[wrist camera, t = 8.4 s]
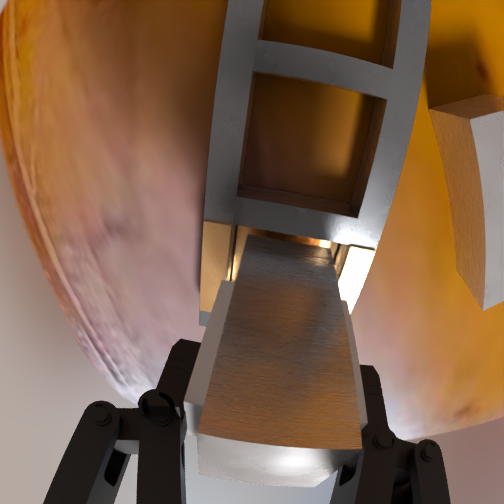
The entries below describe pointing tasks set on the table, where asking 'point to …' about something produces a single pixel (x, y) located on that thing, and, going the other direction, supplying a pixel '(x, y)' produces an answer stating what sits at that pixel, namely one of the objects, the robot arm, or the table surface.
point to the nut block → (475, 189)
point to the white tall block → (281, 373)
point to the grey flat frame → (294, 204)
